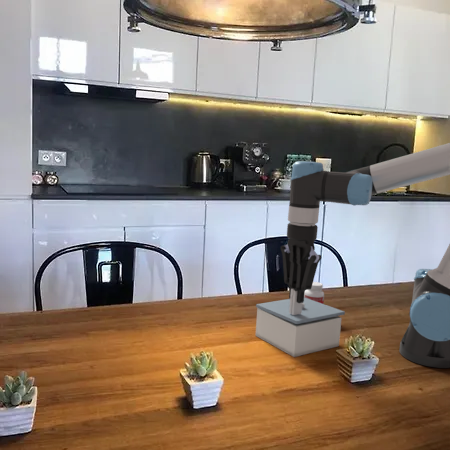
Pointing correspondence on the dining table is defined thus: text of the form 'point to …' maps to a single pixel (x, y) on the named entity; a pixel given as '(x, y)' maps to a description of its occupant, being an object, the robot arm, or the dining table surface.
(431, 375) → the dining table surface
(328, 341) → the box
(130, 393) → the dining table surface
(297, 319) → the lid
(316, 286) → the pill bottle
